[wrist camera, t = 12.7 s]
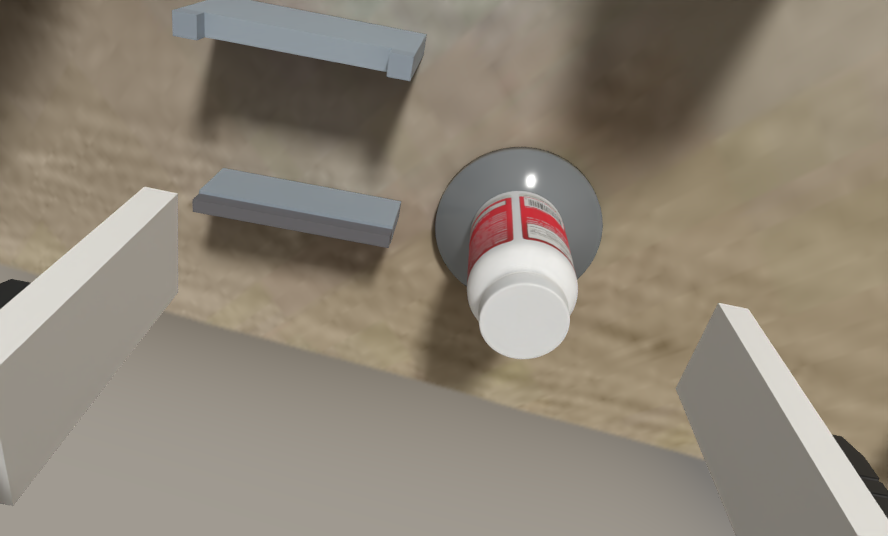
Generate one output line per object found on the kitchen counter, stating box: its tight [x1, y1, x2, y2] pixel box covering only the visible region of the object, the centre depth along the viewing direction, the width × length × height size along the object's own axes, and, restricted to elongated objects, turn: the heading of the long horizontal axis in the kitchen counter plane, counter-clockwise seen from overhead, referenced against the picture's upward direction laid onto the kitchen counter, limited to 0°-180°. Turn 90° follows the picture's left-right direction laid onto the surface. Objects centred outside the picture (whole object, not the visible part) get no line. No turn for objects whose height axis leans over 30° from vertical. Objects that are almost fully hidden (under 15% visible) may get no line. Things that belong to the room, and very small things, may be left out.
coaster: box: [435, 147, 603, 286], centre depth 43 cm, size 11×11×1 cm
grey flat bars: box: [172, 0, 427, 248], centre depth 38 cm, size 12×12×7 cm
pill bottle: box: [467, 191, 578, 359], centre depth 38 cm, size 6×6×11 cm
